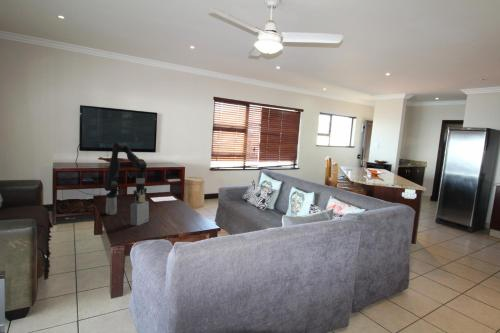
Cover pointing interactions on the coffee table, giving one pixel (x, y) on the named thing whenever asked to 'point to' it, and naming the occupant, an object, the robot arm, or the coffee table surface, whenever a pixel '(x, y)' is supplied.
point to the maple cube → (141, 198)
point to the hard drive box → (139, 213)
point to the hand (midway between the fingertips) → (140, 200)
